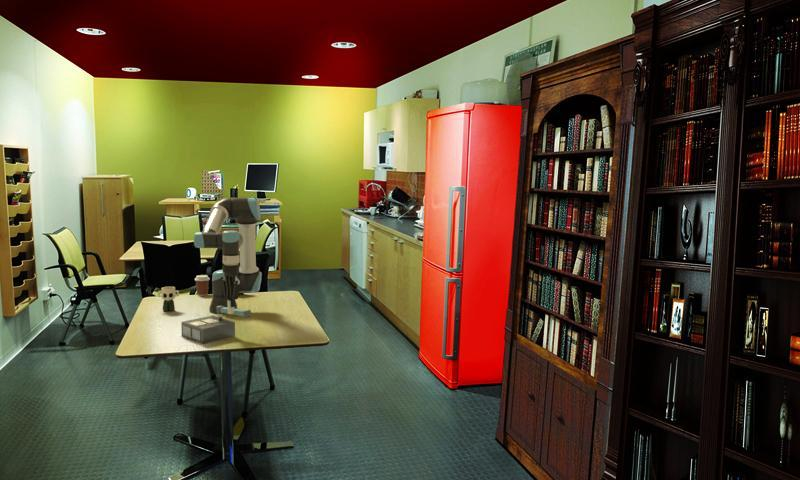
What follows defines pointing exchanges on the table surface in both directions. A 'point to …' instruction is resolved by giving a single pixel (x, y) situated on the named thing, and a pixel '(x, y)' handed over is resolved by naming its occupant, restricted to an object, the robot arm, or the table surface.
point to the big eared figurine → (168, 297)
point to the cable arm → (236, 311)
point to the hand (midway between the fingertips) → (231, 313)
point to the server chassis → (208, 329)
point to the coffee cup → (202, 284)
